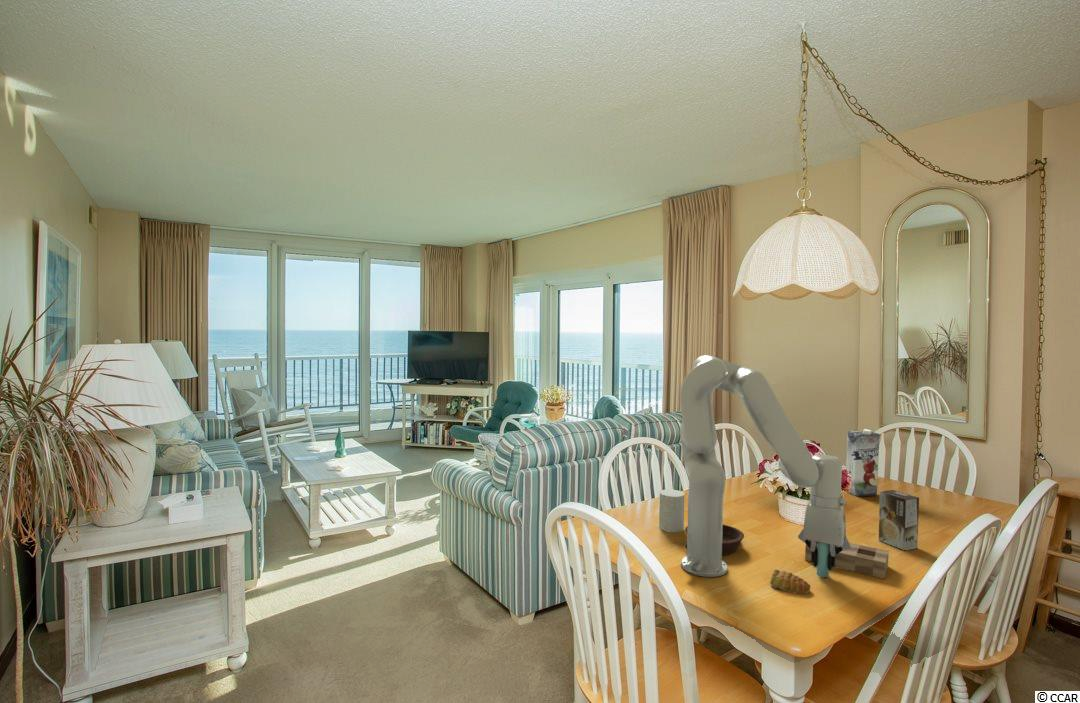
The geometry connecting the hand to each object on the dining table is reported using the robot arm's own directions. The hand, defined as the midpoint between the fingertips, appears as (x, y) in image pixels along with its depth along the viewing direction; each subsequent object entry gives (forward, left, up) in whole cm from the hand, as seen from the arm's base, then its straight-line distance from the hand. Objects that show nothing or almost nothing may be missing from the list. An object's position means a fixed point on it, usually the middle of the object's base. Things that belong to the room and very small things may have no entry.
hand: (823, 566), depth 154 cm
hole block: (+13, -4, -3) cm, 14 cm away
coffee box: (+39, -15, -3) cm, 42 cm away
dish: (+2, +31, -3) cm, 31 cm away
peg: (0, 0, -3) cm, 3 cm away
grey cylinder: (+9, +48, -3) cm, 49 cm away
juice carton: (+93, +1, -3) cm, 93 cm away
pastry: (-12, +6, -3) cm, 14 cm away
